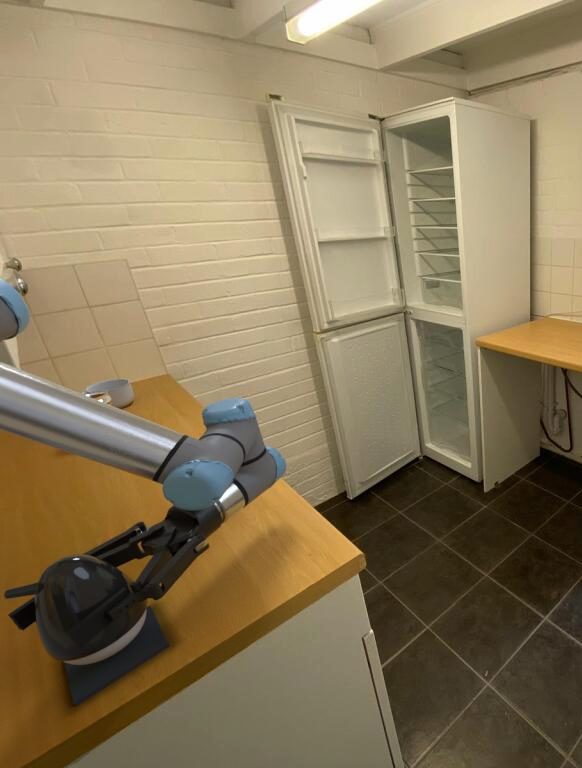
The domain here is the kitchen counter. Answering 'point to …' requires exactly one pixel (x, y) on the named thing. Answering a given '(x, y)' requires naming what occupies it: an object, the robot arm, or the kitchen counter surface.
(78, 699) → the mat
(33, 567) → the kitchen counter surface
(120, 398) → the teacup
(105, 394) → the wineglass
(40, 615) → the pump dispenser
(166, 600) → the kitchen counter surface
